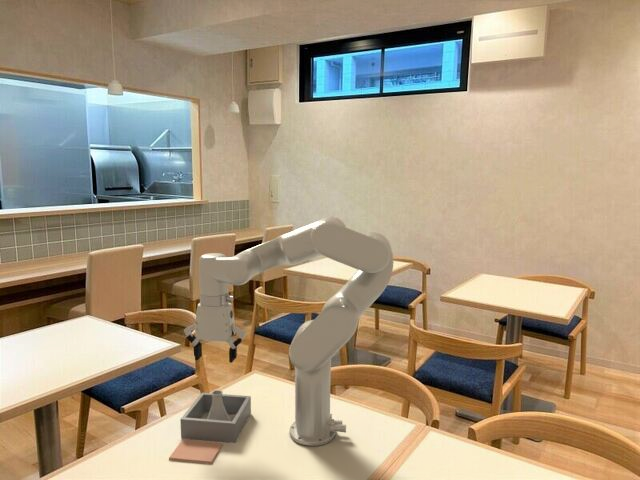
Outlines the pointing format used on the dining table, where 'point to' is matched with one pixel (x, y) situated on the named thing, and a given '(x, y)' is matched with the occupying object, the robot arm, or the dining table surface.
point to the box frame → (216, 428)
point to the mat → (196, 451)
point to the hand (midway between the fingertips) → (215, 359)
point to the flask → (217, 407)
